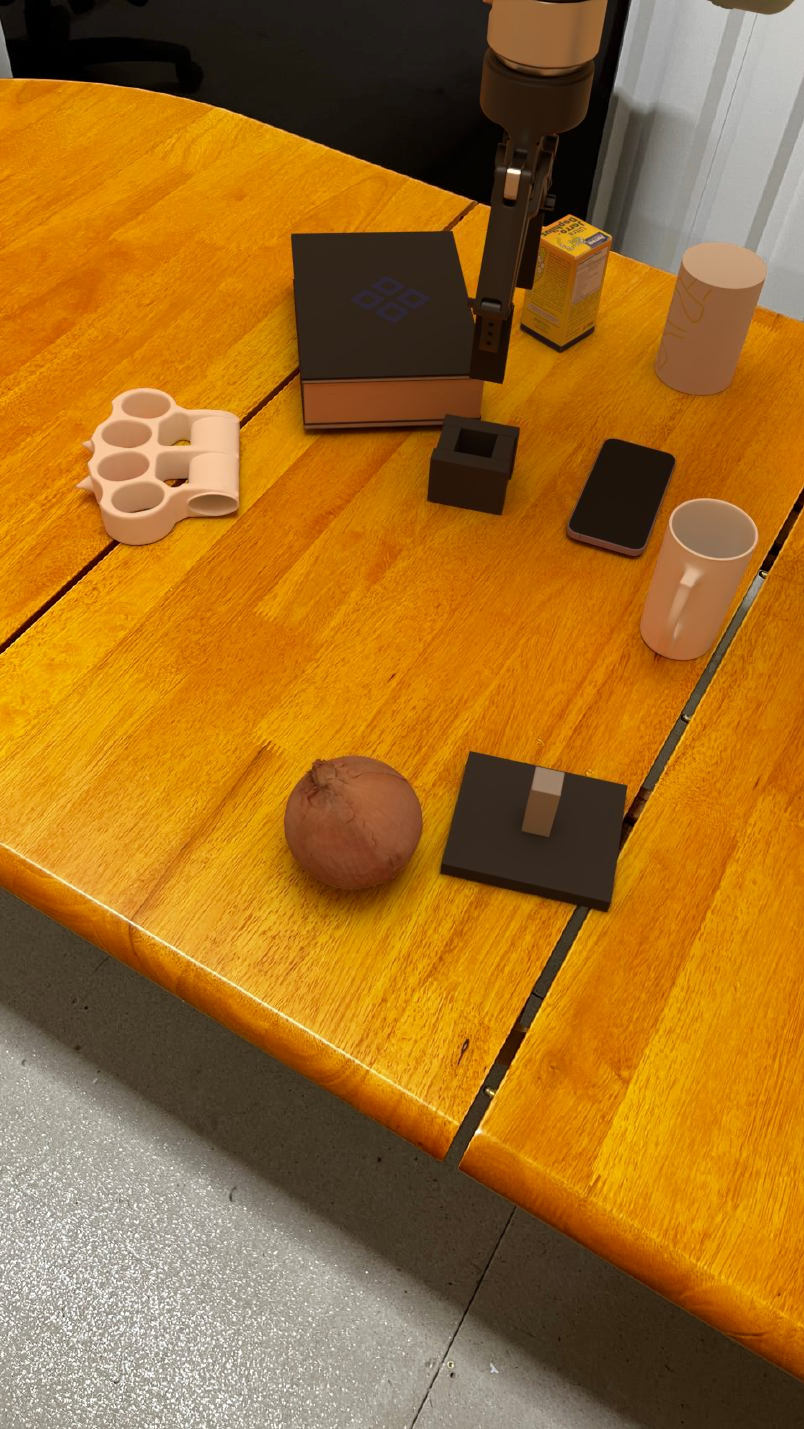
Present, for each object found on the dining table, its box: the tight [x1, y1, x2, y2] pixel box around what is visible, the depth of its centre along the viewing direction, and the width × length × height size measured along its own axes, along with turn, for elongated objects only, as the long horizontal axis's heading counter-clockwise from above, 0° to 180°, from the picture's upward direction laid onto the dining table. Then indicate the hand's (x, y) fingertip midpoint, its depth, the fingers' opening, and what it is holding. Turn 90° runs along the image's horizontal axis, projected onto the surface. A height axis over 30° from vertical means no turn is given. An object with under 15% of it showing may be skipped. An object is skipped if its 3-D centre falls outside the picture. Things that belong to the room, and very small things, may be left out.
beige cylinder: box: [654, 241, 768, 396], centre depth 110 cm, size 8×8×12 cm
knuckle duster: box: [74, 387, 241, 546], centre depth 101 cm, size 3×18×15 cm
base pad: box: [439, 750, 628, 913], centre depth 78 cm, size 12×10×7 cm
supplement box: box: [519, 214, 613, 353], centre depth 114 cm, size 6×6×11 cm
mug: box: [639, 497, 759, 661], centre depth 87 cm, size 10×7×12 cm, turn 151°
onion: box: [283, 755, 424, 891], centre depth 75 cm, size 10×9×10 cm
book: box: [290, 230, 485, 431], centre depth 112 cm, size 17×25×7 cm
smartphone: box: [566, 437, 677, 557], centre depth 102 cm, size 7×1×15 cm
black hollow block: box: [426, 414, 521, 516], centre depth 101 cm, size 7×7×5 cm
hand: (502, 330), depth 91 cm, fingers open, 13 cm apart
